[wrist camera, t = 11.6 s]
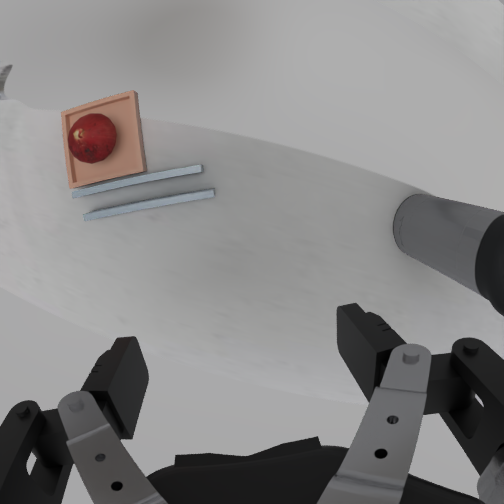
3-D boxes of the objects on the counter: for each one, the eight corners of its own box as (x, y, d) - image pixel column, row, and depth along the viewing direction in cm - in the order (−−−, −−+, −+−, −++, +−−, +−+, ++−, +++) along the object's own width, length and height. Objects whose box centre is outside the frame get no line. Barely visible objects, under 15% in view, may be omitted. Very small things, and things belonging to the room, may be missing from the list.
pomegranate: (128, 155, 35) (105, 153, 27) (88, 169, 35) (58, 170, 27) (120, 111, 34) (96, 99, 26) (80, 126, 33) (50, 119, 26)
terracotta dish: (137, 93, 34) (133, 90, 32) (147, 171, 36) (143, 171, 35) (67, 113, 33) (61, 112, 31) (75, 187, 36) (69, 188, 34)
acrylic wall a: (214, 188, 38) (213, 189, 34) (215, 194, 38) (214, 197, 35) (93, 210, 37) (82, 214, 34) (94, 216, 37) (84, 221, 34)
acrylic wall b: (202, 165, 37) (200, 164, 33) (203, 171, 37) (201, 171, 34) (83, 189, 36) (71, 192, 33) (84, 195, 36) (72, 198, 33)
